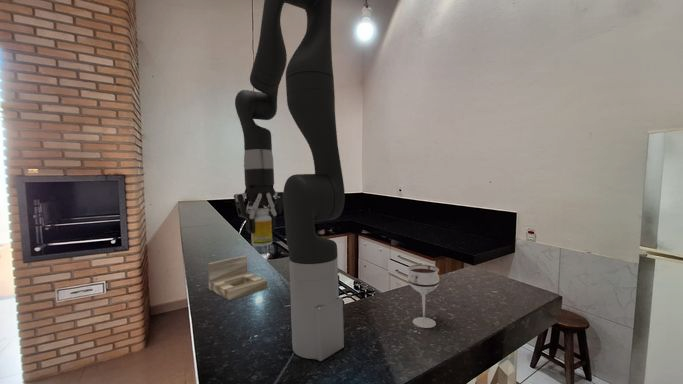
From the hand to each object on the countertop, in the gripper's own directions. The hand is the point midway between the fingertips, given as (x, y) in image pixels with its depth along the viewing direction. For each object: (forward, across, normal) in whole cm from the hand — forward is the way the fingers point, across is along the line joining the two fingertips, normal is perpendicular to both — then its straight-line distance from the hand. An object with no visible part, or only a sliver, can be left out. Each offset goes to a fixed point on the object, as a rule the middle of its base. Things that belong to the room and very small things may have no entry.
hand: (261, 231), depth 79 cm
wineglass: (+20, +17, -38) cm, 46 cm away
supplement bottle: (+4, 0, 0) cm, 4 cm away
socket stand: (+19, 0, +14) cm, 24 cm away
